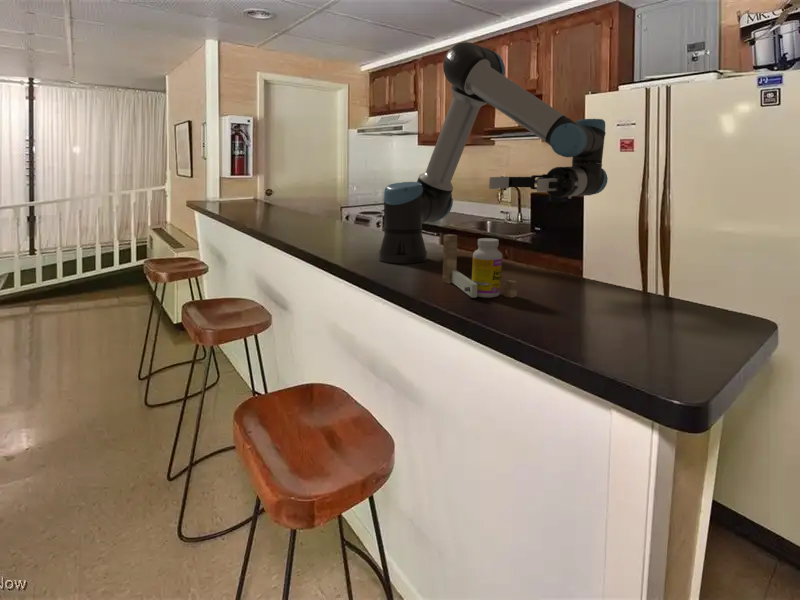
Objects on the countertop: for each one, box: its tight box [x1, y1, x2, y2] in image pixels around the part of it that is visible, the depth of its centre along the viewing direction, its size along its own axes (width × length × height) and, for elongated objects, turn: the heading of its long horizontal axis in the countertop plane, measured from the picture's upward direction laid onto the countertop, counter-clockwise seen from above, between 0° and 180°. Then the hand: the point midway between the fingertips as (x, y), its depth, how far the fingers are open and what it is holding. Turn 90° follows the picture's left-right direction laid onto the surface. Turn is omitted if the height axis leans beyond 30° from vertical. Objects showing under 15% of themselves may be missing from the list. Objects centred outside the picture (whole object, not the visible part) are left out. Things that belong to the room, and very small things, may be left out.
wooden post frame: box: [442, 233, 518, 299], centre depth 128 cm, size 22×2×12 cm, turn 41°
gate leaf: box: [451, 269, 478, 299], centre depth 127 cm, size 16×2×3 cm, turn 11°
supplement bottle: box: [471, 237, 503, 299], centre depth 122 cm, size 7×7×13 cm
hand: (513, 184), depth 123 cm, fingers open, 13 cm apart
